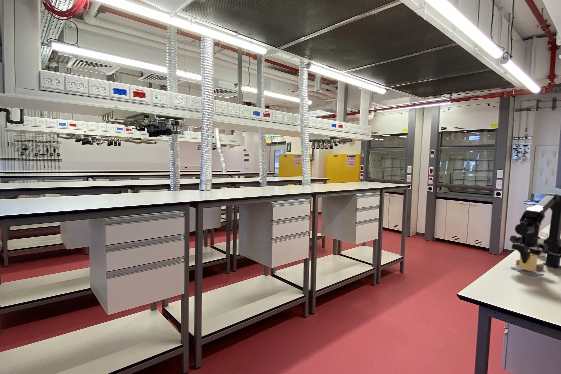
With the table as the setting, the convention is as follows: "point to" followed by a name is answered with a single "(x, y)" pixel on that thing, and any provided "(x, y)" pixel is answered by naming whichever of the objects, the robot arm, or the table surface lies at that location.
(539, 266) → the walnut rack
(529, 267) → the ochre block
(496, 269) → the table surface
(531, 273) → the slate pad
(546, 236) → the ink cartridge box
